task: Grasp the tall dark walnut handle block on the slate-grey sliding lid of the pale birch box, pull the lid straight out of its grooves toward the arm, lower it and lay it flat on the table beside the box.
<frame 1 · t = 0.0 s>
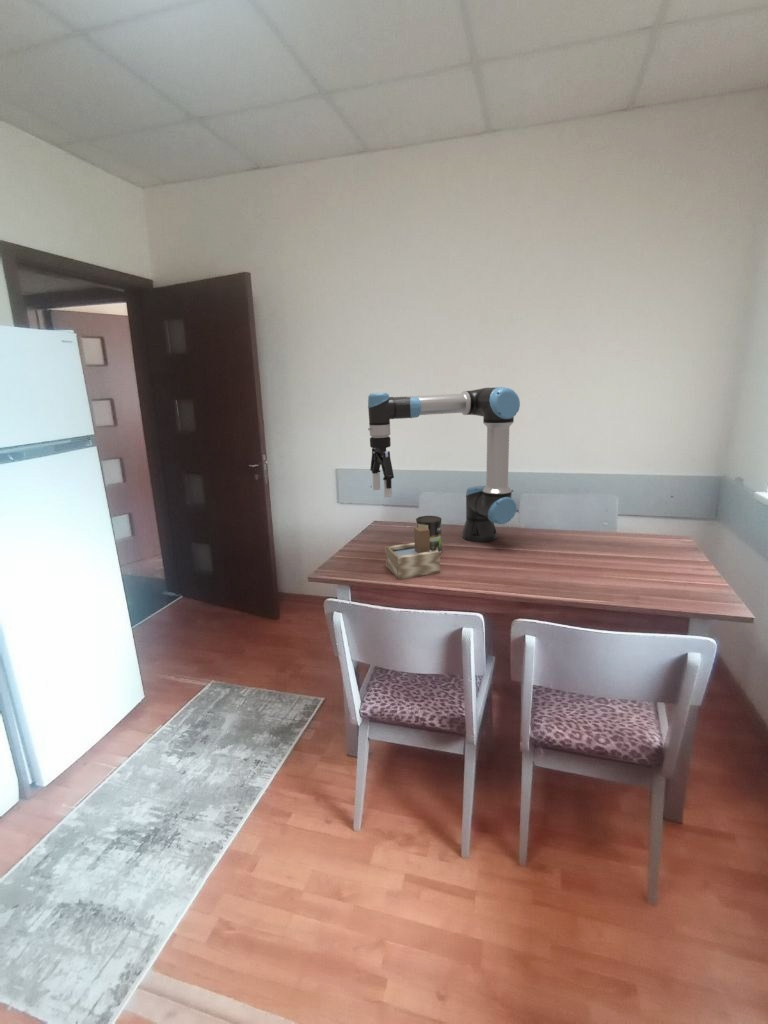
hand: (382, 493, 181), 28 cm above the table, fingers open, 13 cm apart
coffee can: (429, 551, 200), on the table
lid: (413, 555, 179), point 5 cm above the table, touching box
box: (412, 569, 181), on the table
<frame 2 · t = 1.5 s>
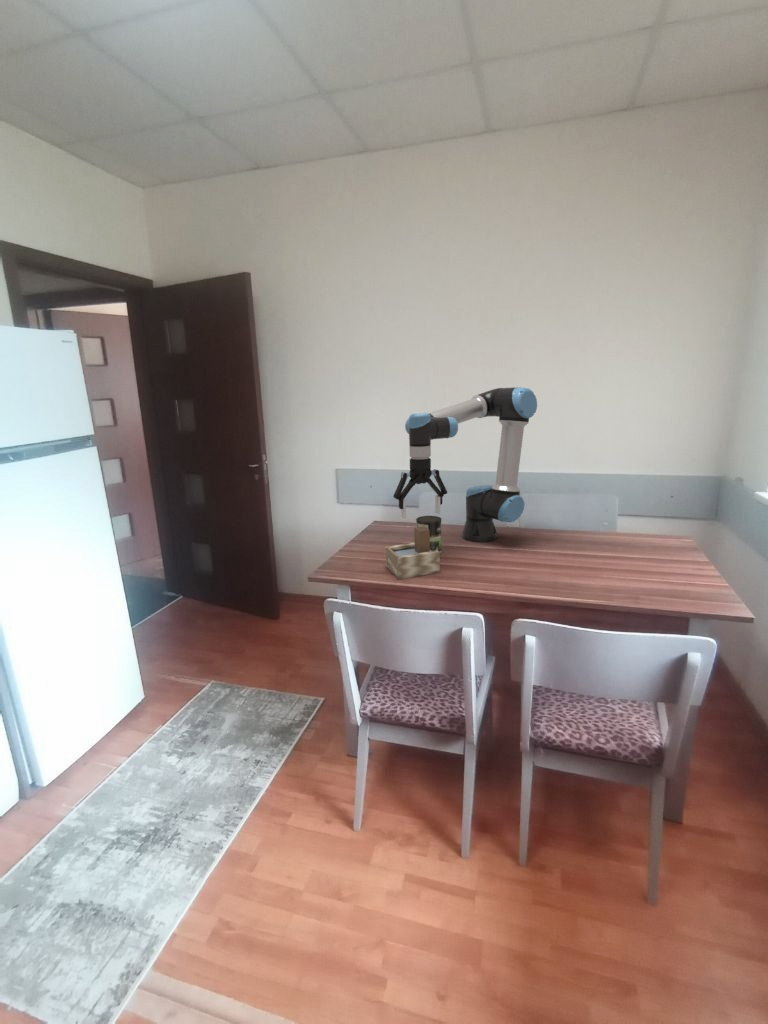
hand: (420, 515, 176), 21 cm above the table, fingers open, 13 cm apart
nothing on the table moved.
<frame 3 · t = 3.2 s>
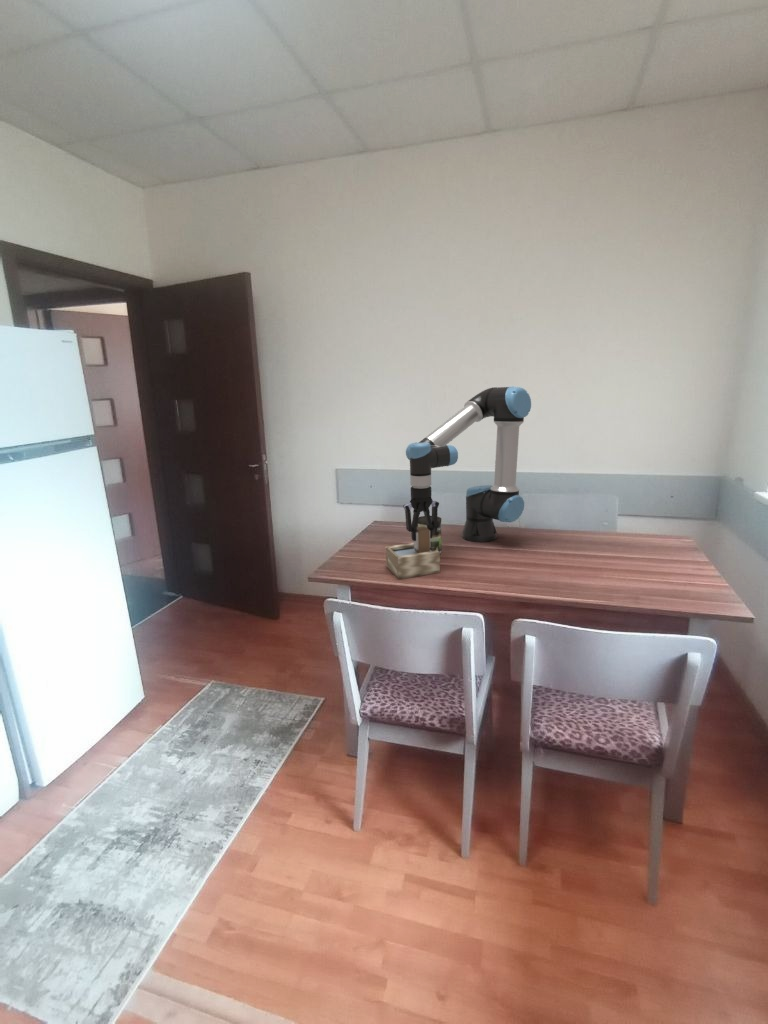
hand: (422, 547, 180), 8 cm above the table, fingers closed on lid, 4 cm apart
lid: (413, 555, 179), point 5 cm above the table, touching box, gripper
everything else where it was.
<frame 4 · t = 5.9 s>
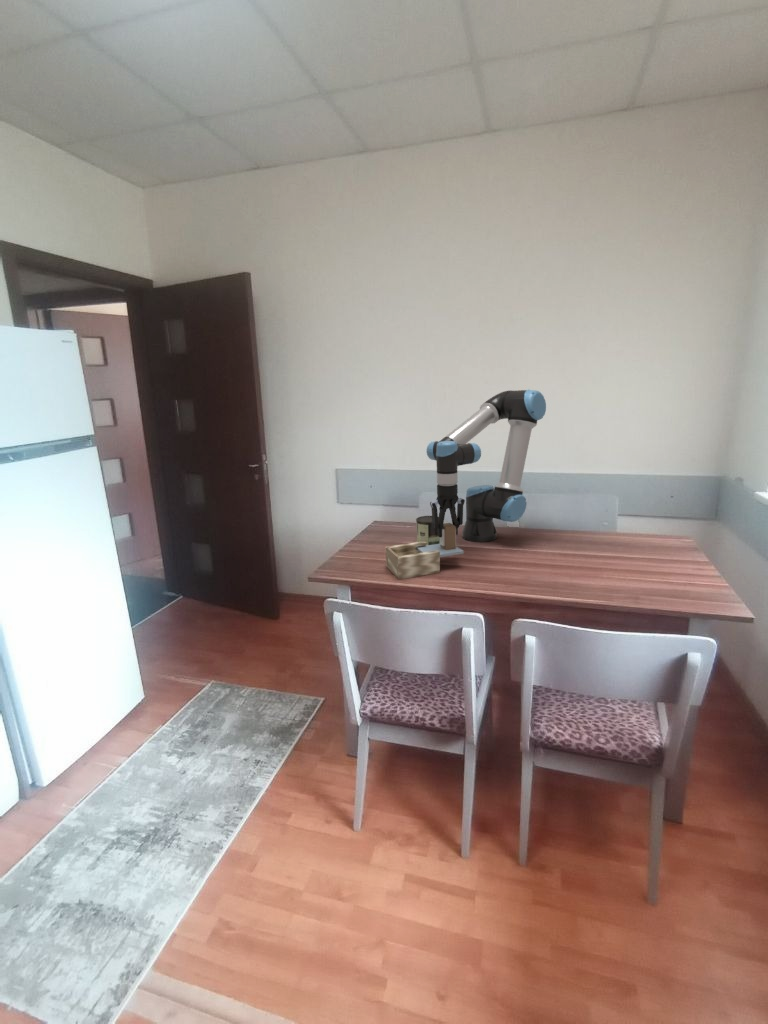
hand: (447, 543, 183), 8 cm above the table, fingers closed on lid, 4 cm apart
lid: (439, 551, 183), point 5 cm above the table, touching gripper
everything else where it was.
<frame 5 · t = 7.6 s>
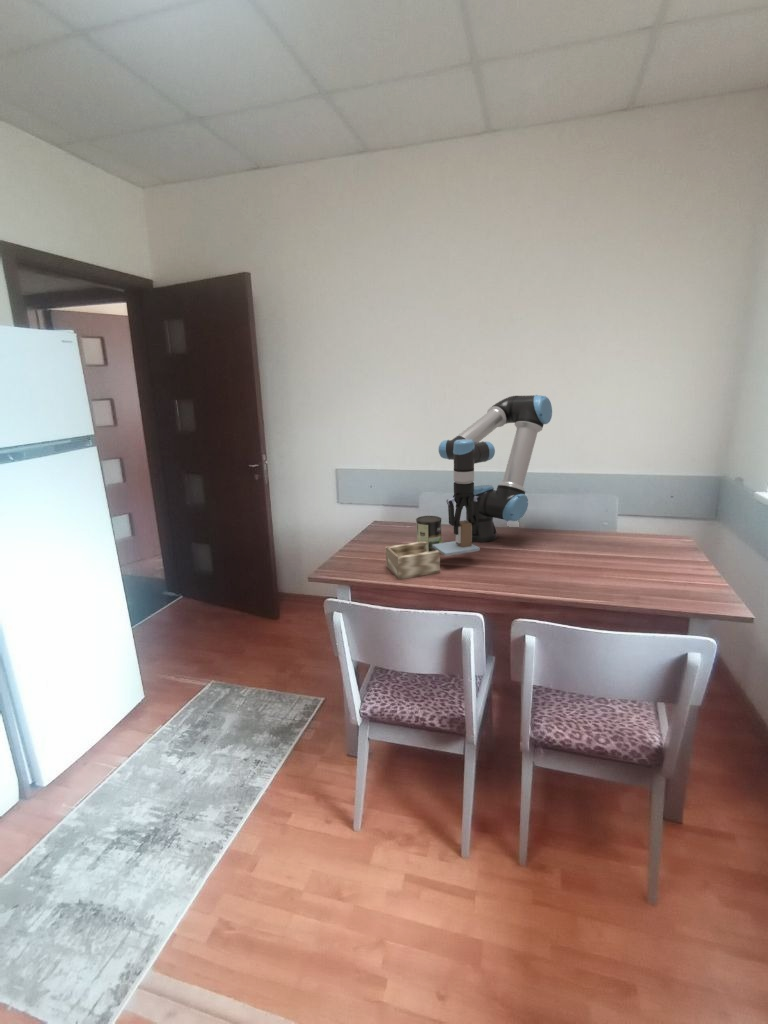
hand: (463, 541, 185), 8 cm above the table, fingers closed on lid, 4 cm apart
lid: (455, 548, 185), point 6 cm above the table, touching gripper
everything else where it was.
when the fingers open (5 cm above the table, at t = 8.8 s): lid drops 2 cm, on the table.
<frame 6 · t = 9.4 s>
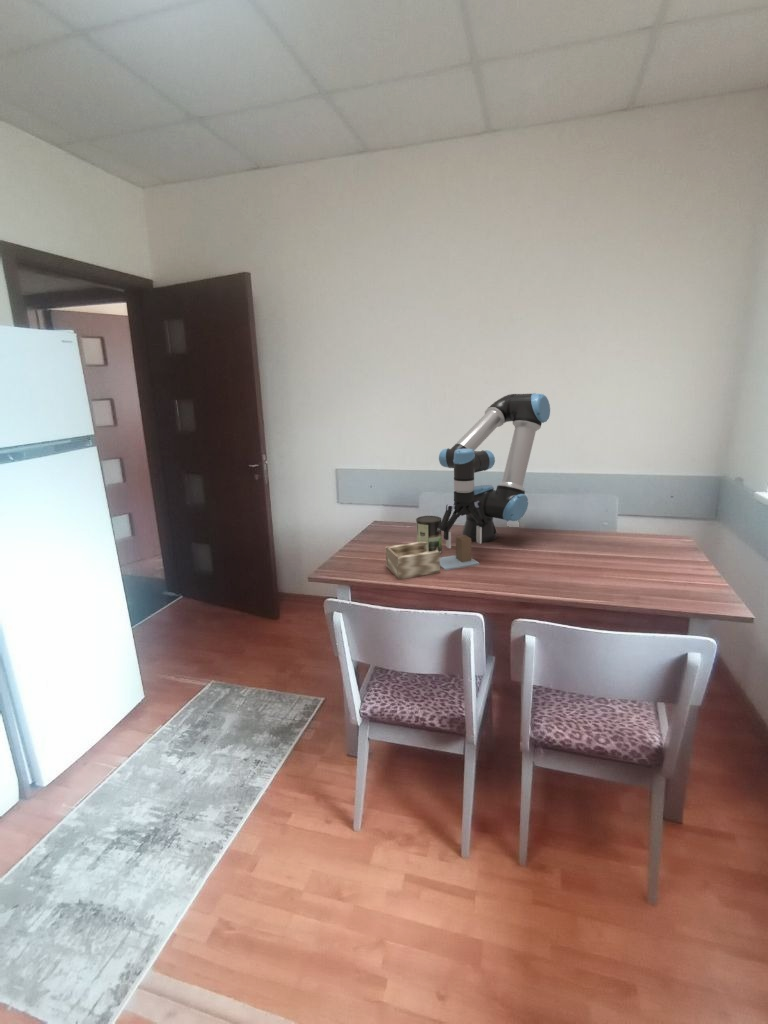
hand: (463, 545, 185), 7 cm above the table, fingers open, 12 cm apart
lid: (455, 563, 186), on the table
everything else where it was.
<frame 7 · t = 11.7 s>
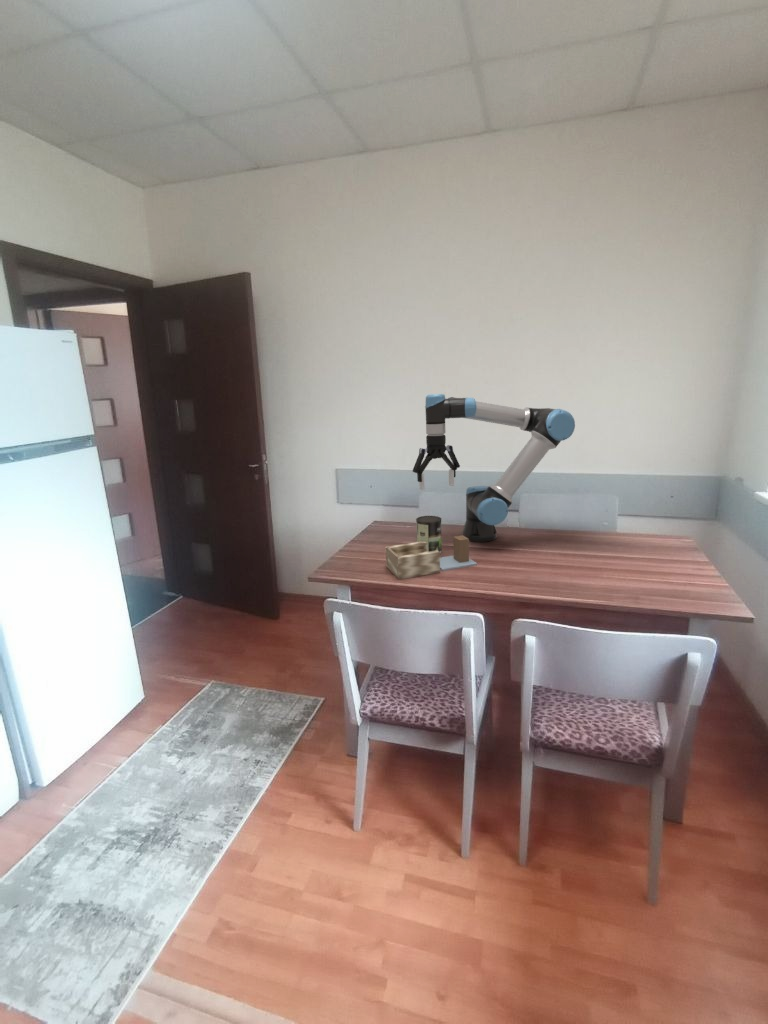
hand: (436, 487, 194), 27 cm above the table, fingers open, 13 cm apart
lid: (453, 563, 186), on the table
everything else where it was.
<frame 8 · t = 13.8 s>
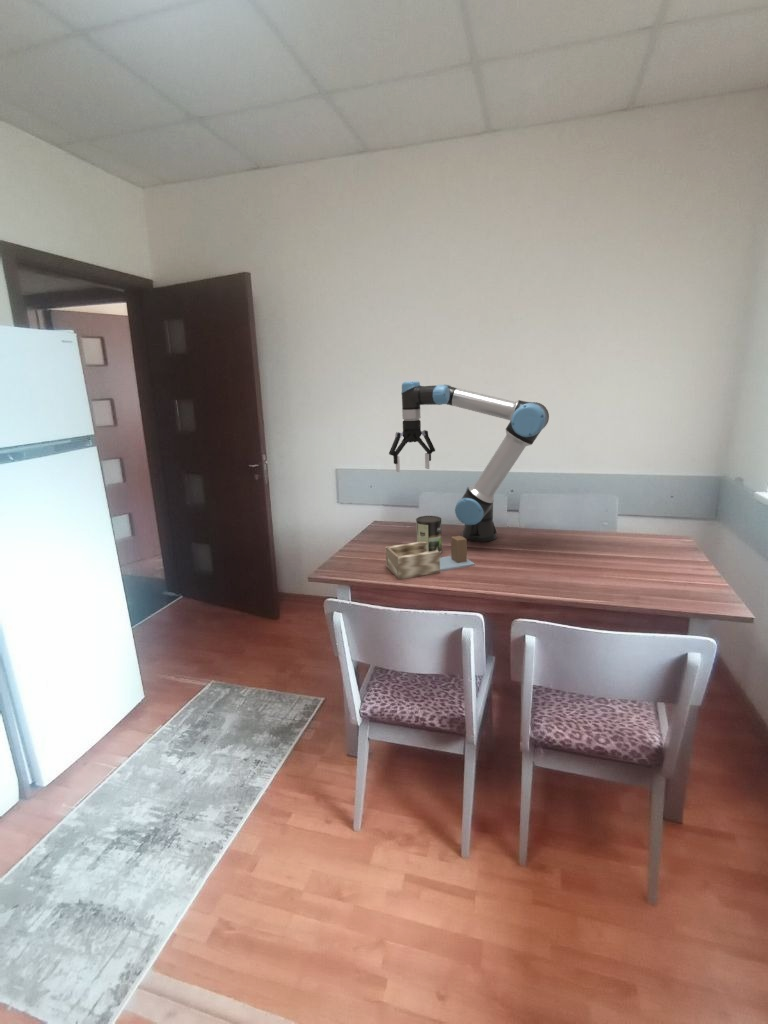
hand: (412, 470, 206), 32 cm above the table, fingers open, 13 cm apart
nothing on the table moved.
at the end: lid inside the target area (4.2 cm from its centre), on the table; lid tilted 0°; the gripper is holding nothing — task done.
